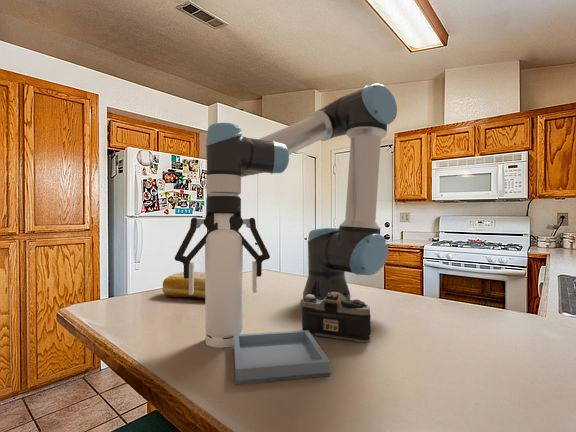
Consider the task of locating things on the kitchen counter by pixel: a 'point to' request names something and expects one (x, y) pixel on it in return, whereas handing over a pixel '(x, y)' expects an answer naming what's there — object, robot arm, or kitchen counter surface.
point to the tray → (278, 357)
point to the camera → (336, 317)
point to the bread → (184, 285)
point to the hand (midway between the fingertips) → (223, 292)
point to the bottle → (223, 283)
